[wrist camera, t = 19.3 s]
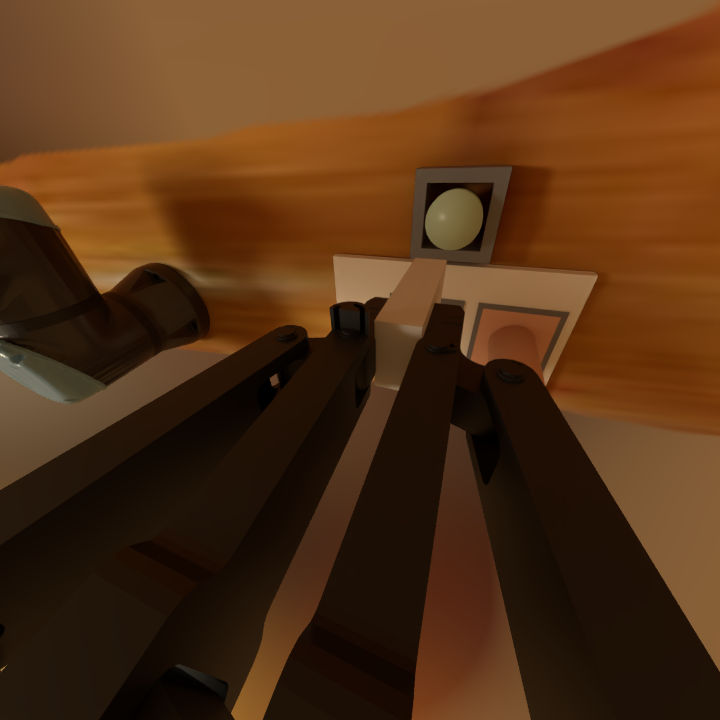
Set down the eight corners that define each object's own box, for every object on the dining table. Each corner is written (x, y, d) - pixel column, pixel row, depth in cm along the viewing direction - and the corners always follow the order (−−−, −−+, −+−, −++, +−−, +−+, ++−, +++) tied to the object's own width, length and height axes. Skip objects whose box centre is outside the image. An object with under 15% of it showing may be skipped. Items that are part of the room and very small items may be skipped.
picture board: (345, 359, 46) (342, 364, 45) (336, 253, 36) (332, 256, 35) (536, 396, 38) (538, 403, 37) (594, 271, 28) (598, 276, 27)
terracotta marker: (484, 328, 34) (482, 417, 23) (535, 321, 31) (557, 417, 21) (490, 363, 36) (491, 456, 26) (538, 358, 34) (559, 460, 23)
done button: (425, 243, 29) (422, 248, 28) (431, 187, 26) (428, 190, 25) (476, 246, 28) (476, 251, 26) (488, 187, 25) (488, 190, 23)
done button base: (415, 250, 33) (409, 258, 30) (421, 167, 28) (416, 168, 26) (489, 255, 30) (489, 263, 28) (510, 164, 26) (512, 166, 23)
